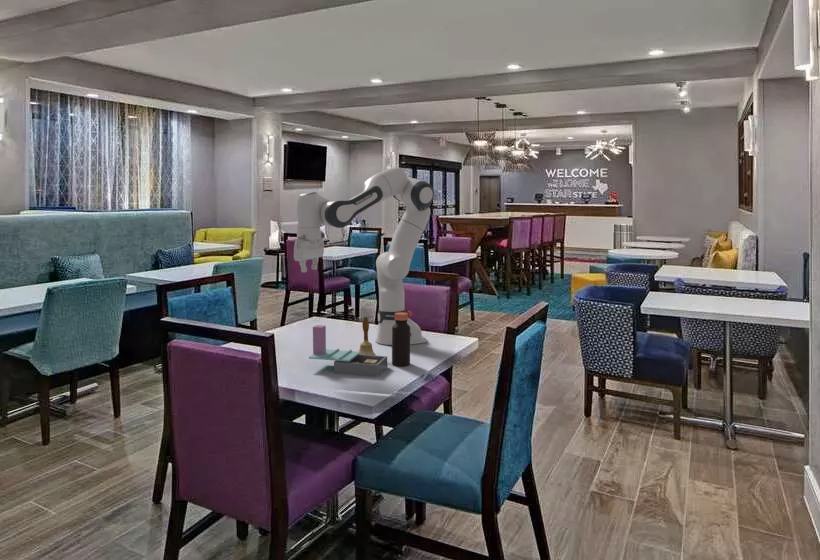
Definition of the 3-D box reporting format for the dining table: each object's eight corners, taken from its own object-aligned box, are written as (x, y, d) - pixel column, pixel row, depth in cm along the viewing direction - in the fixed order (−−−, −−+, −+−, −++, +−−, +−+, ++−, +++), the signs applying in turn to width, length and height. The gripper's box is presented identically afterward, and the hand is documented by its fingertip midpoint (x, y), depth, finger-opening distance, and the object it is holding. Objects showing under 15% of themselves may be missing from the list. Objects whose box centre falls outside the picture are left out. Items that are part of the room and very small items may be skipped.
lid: (360, 353, 213) (360, 325, 211) (349, 361, 202) (349, 332, 200) (321, 350, 217) (321, 322, 215) (308, 358, 205) (308, 329, 204)
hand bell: (373, 360, 224) (373, 319, 222) (353, 358, 225) (352, 318, 223) (378, 354, 232) (378, 315, 230) (358, 353, 233) (358, 314, 231)
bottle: (413, 365, 217) (413, 312, 214) (405, 369, 211) (405, 315, 208) (396, 362, 220) (397, 311, 217) (388, 367, 214) (388, 314, 211)
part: (377, 368, 210) (377, 360, 209) (374, 371, 206) (374, 362, 206) (367, 367, 211) (367, 359, 210) (363, 370, 207) (363, 362, 207)
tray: (387, 369, 211) (387, 356, 211) (377, 378, 200) (377, 365, 199) (346, 365, 215) (345, 353, 214) (334, 375, 204) (333, 361, 203)
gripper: (304, 236, 210) (305, 274, 212) (326, 233, 230) (326, 268, 232) (289, 236, 212) (289, 273, 213) (311, 233, 231) (312, 267, 233)
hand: (309, 270), depth 223 cm, fingers open, 8 cm apart
